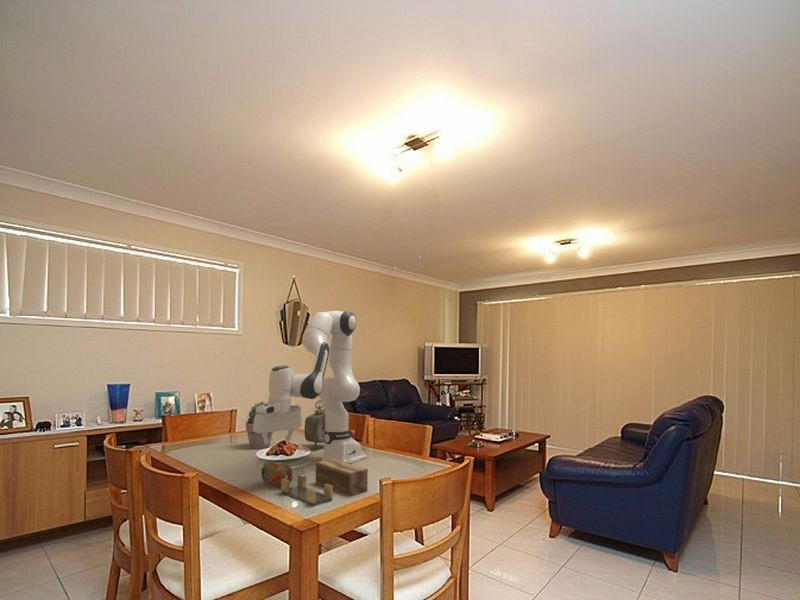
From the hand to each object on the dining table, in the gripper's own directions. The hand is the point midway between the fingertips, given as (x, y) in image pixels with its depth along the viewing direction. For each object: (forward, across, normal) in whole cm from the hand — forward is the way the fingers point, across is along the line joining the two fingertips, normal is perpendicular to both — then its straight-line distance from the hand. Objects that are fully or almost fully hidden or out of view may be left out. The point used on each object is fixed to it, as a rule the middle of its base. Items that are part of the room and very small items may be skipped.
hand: (277, 442), depth 178 cm
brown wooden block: (+16, -16, +20) cm, 30 cm away
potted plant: (+16, -28, -65) cm, 73 cm away
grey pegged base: (+16, 0, +20) cm, 26 cm away
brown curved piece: (+17, 0, 0) cm, 17 cm away
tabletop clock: (+16, -50, -41) cm, 67 cm away
